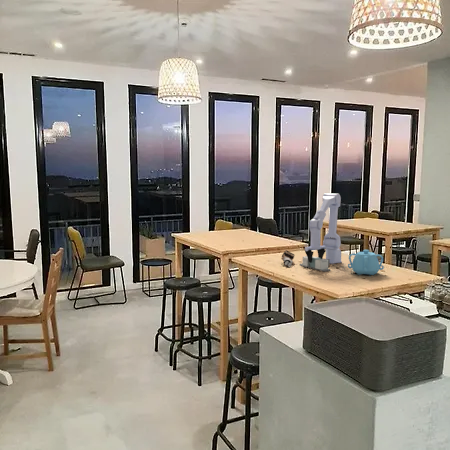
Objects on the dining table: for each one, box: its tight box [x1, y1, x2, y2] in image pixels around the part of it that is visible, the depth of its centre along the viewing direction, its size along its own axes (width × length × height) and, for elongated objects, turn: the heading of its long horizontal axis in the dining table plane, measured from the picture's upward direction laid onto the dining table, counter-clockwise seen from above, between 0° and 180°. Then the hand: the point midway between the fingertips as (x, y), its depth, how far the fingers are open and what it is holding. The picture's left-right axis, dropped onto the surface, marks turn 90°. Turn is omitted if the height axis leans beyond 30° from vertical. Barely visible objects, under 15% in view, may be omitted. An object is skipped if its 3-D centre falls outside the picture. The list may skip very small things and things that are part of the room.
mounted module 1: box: [302, 255, 314, 266], centre depth 278 cm, size 6×4×5 cm
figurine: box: [281, 250, 295, 268], centre depth 285 cm, size 9×8×15 cm
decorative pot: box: [347, 249, 385, 276], centre depth 258 cm, size 16×16×14 cm
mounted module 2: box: [315, 258, 329, 270], centre depth 268 cm, size 6×4×5 cm
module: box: [310, 256, 321, 268], centre depth 273 cm, size 4×5×6 cm
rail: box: [299, 262, 331, 273], centre depth 274 cm, size 5×22×1 cm, turn 30°
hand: (315, 261), depth 273 cm, fingers open, 7 cm apart
